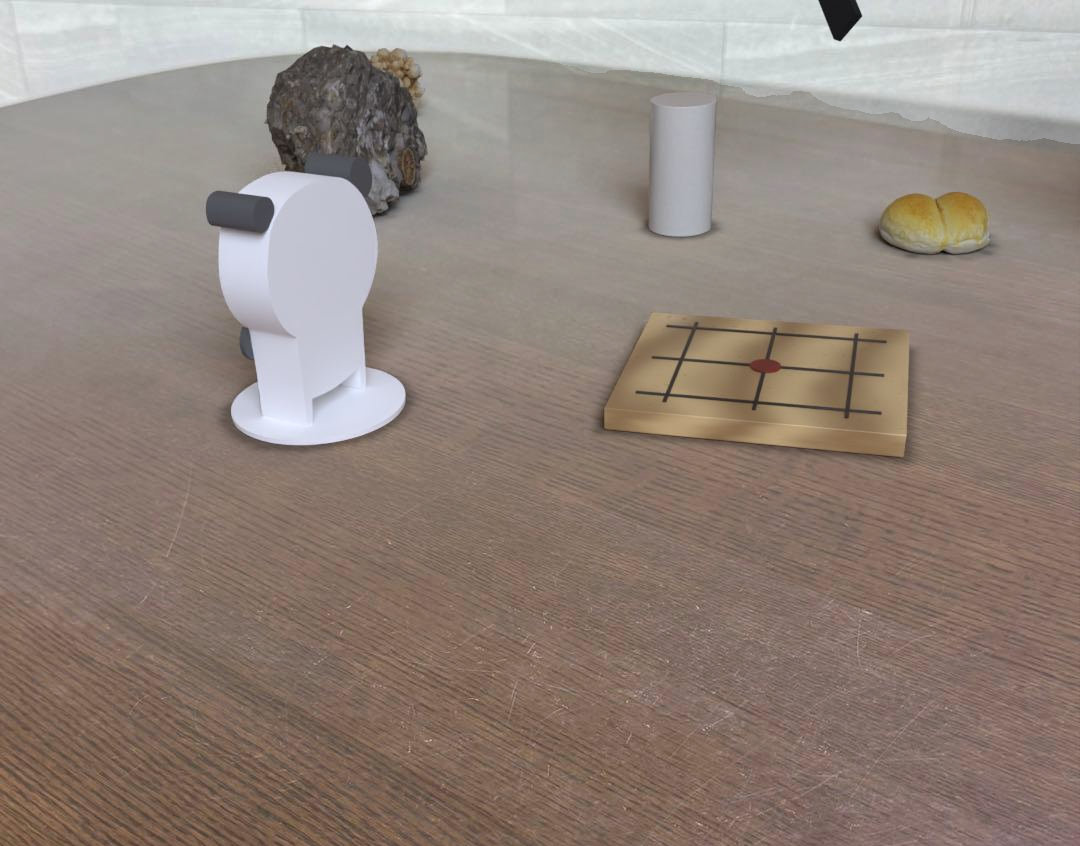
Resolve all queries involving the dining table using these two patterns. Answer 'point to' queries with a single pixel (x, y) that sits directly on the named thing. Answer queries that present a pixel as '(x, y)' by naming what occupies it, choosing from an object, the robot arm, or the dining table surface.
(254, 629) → the dining table surface
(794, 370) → the game board
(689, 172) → the white tube
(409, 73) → the mineral formation
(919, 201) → the bread roll
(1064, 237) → the dining table surface
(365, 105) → the rock
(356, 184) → the white plastic upright piece
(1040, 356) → the dining table surface
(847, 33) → the robot arm
